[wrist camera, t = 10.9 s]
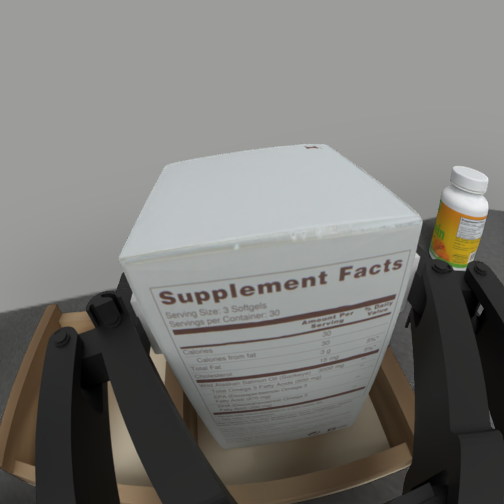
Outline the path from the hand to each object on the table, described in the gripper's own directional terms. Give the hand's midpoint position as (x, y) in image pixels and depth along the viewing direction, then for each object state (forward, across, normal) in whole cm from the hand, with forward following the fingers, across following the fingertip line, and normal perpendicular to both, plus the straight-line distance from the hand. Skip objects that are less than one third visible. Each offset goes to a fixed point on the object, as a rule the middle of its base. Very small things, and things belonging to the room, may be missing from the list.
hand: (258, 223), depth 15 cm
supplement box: (-5, 0, -9) cm, 10 cm away
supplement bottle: (+5, +21, -10) cm, 24 cm away
